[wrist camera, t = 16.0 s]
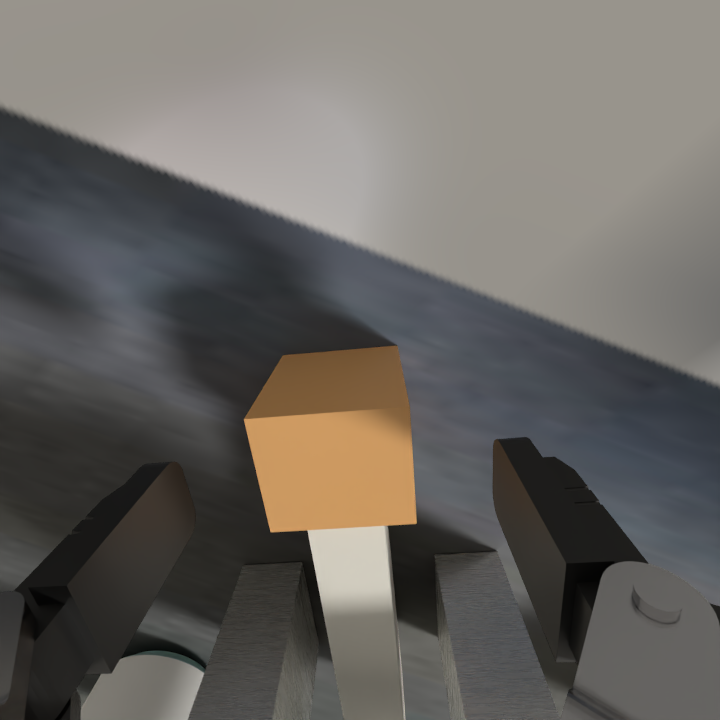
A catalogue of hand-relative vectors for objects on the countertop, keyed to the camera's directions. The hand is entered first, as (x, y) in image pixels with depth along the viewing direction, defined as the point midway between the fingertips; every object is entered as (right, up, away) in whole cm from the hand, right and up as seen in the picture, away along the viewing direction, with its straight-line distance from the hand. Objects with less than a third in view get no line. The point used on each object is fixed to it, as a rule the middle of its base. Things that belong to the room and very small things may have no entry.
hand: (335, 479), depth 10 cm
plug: (+1, -6, +9) cm, 10 cm away
